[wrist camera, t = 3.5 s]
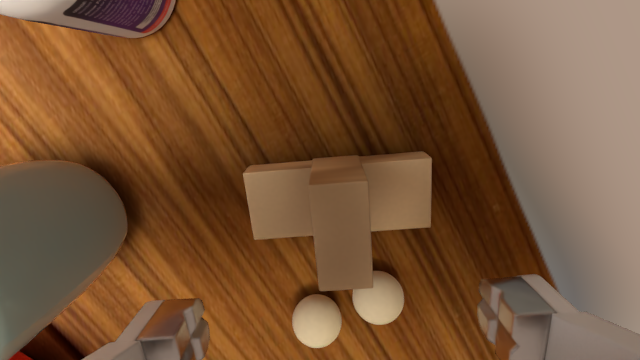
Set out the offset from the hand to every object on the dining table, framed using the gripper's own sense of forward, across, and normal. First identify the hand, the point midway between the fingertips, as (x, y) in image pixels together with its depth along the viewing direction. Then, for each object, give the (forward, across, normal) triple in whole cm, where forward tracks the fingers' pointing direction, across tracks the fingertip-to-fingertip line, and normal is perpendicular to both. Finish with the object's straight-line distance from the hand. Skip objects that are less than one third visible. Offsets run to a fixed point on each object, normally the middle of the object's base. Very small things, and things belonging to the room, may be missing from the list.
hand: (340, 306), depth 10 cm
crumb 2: (+9, -2, +7) cm, 12 cm away
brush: (+11, 0, 0) cm, 11 cm away
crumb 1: (+9, +2, +9) cm, 13 cm away
